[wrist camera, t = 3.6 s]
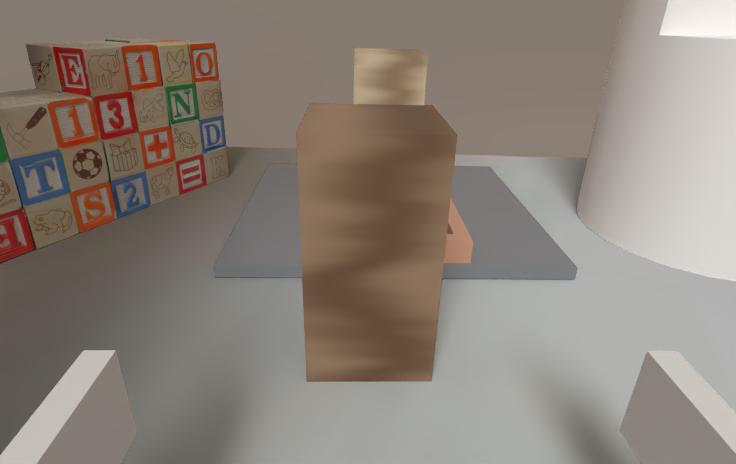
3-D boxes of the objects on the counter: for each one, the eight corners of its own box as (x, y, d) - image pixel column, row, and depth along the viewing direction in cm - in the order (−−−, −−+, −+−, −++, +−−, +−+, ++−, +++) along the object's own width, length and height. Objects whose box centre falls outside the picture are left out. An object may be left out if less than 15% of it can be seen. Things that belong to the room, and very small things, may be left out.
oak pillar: (352, 192, 40) (354, 53, 35) (352, 171, 45) (354, 47, 40) (417, 192, 40) (427, 55, 35) (410, 172, 45) (418, 49, 40)
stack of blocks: (-16, 273, 28) (-98, 57, 23) (-69, 249, 31) (-153, 49, 26) (231, 176, 46) (217, 39, 40) (184, 166, 48) (165, 36, 43)
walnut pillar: (306, 381, 21) (296, 131, 16) (315, 309, 26) (309, 103, 21) (431, 381, 21) (457, 134, 16) (416, 309, 26) (432, 105, 21)
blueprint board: (215, 277, 28) (210, 243, 27) (270, 171, 47) (268, 148, 46) (574, 279, 29) (583, 246, 28) (488, 174, 48) (491, 152, 47)
